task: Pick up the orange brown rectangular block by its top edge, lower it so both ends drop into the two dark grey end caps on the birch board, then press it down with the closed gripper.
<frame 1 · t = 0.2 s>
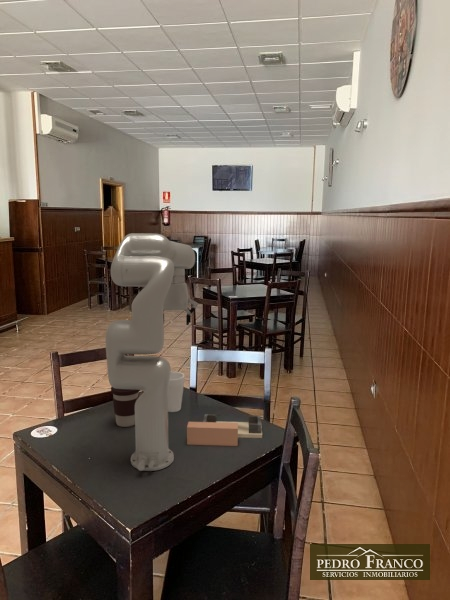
hand: (175, 324, 170), 31 cm above the table, tool pointing down, fingers open, 9 cm apart
foam cup: (172, 409, 167), on the table
board: (232, 430, 150), on the table
coffee cup: (126, 423, 155), on the table
orange brown rectangular block: (212, 442, 142), on the table
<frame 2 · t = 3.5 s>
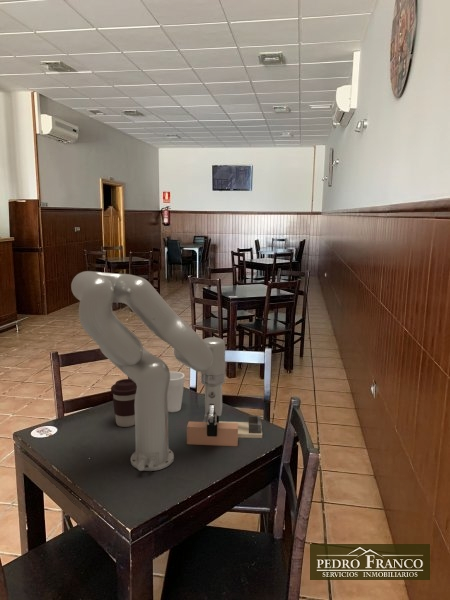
hand: (213, 429, 141), 4 cm above the table, tool pointing down, fingers open, 7 cm apart
nothing on the table moved.
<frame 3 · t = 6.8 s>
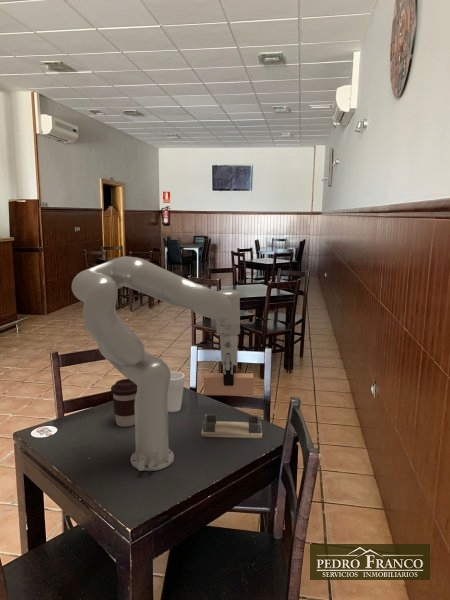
hand: (229, 382, 145), 18 cm above the table, tool pointing down, fingers closed on orange brown rectangular block, 4 cm apart
orange brown rectangular block: (228, 392, 146), point 14 cm above the table, touching gripper
everything else where it was.
when the fingers open (6 cm above the table, at t = 9.5 s): orange brown rectangular block drops 1 cm, resting on board.
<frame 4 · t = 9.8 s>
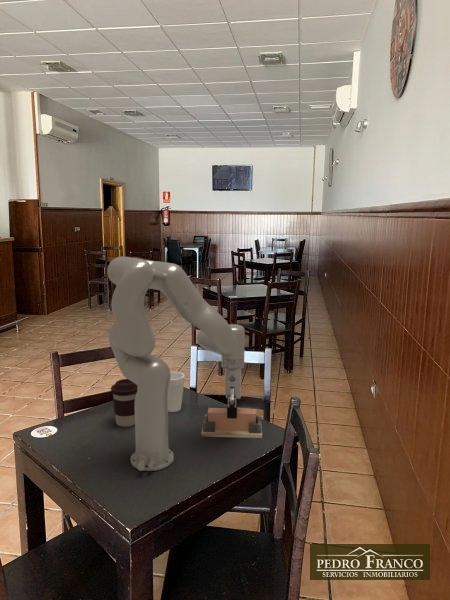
hand: (232, 412, 149), 7 cm above the table, tool pointing down, fingers open, 7 cm apart
orange brown rectangular block: (231, 427, 150), point 1 cm above the table, touching board
everything else where it was.
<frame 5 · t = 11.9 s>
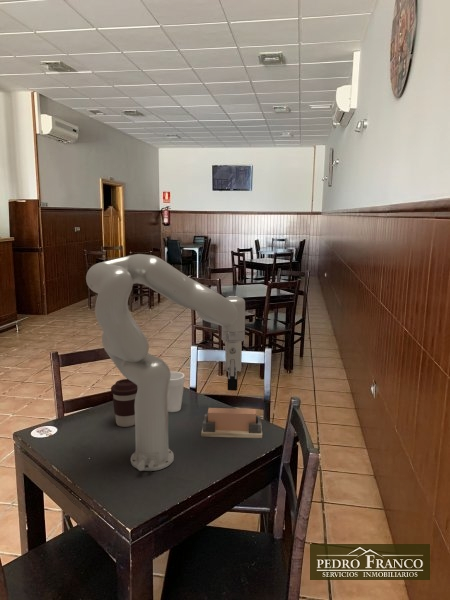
hand: (232, 388, 147), 15 cm above the table, tool pointing down, fingers closed
nothing on the table moved.
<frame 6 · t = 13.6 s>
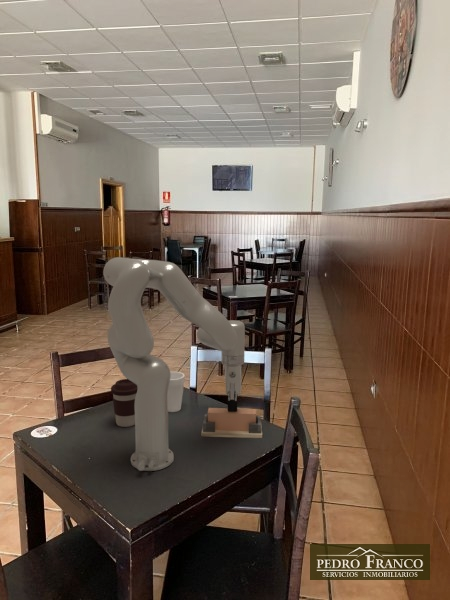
hand: (232, 410, 149), 7 cm above the table, tool pointing down, fingers closed
orange brown rectangular block: (231, 427, 150), point 1 cm above the table, touching board, gripper
everything else where it was.
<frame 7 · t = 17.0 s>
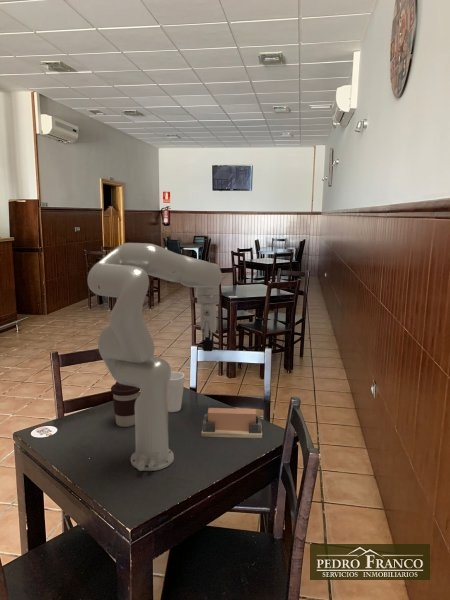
hand: (208, 350, 156), 25 cm above the table, tool pointing down, fingers closed
orange brown rectangular block: (231, 427, 150), point 1 cm above the table, touching board
everything else where it was.
at the end: orange brown rectangular block 0.1 cm off-centre on the board, point 1.2 cm above the board's base; orange brown rectangular block tilted 0°; the gripper is holding nothing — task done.
